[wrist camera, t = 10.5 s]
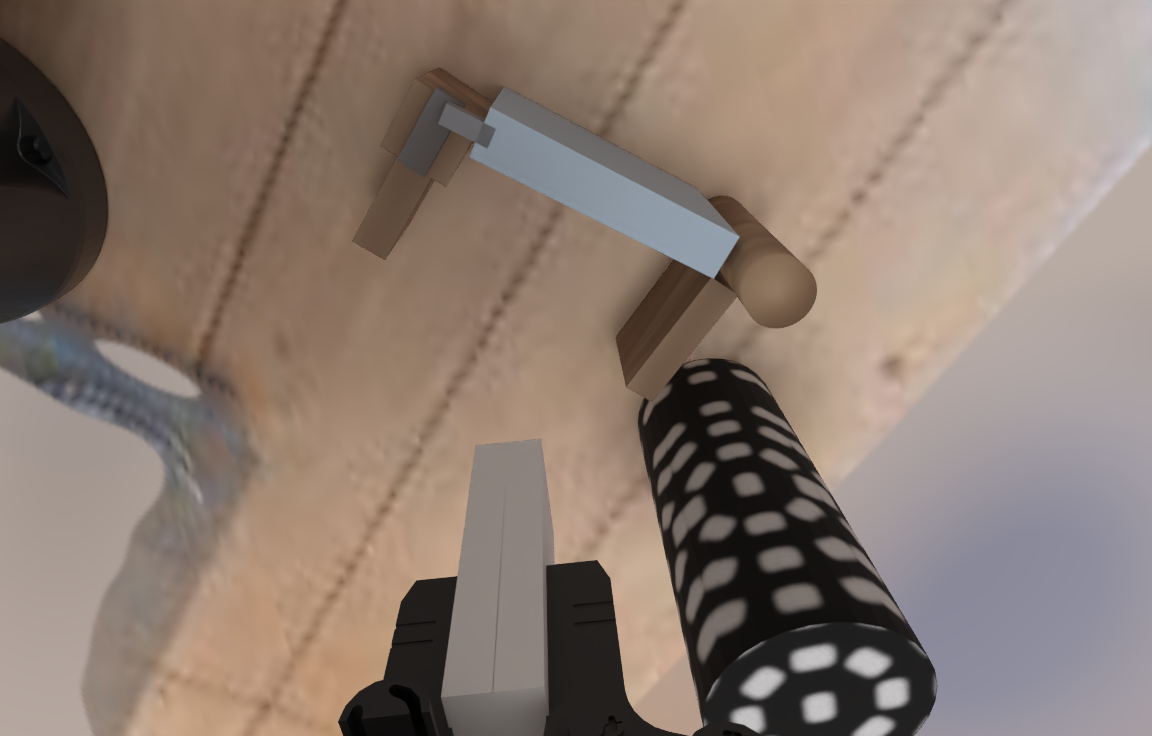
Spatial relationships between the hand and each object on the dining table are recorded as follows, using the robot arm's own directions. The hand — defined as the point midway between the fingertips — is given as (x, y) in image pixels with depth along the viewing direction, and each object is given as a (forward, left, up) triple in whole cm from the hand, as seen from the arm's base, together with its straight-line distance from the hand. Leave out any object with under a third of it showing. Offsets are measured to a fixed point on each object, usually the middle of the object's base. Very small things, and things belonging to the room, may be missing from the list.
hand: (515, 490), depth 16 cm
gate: (0, +5, -23) cm, 24 cm away
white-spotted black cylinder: (+15, -4, -23) cm, 28 cm away
